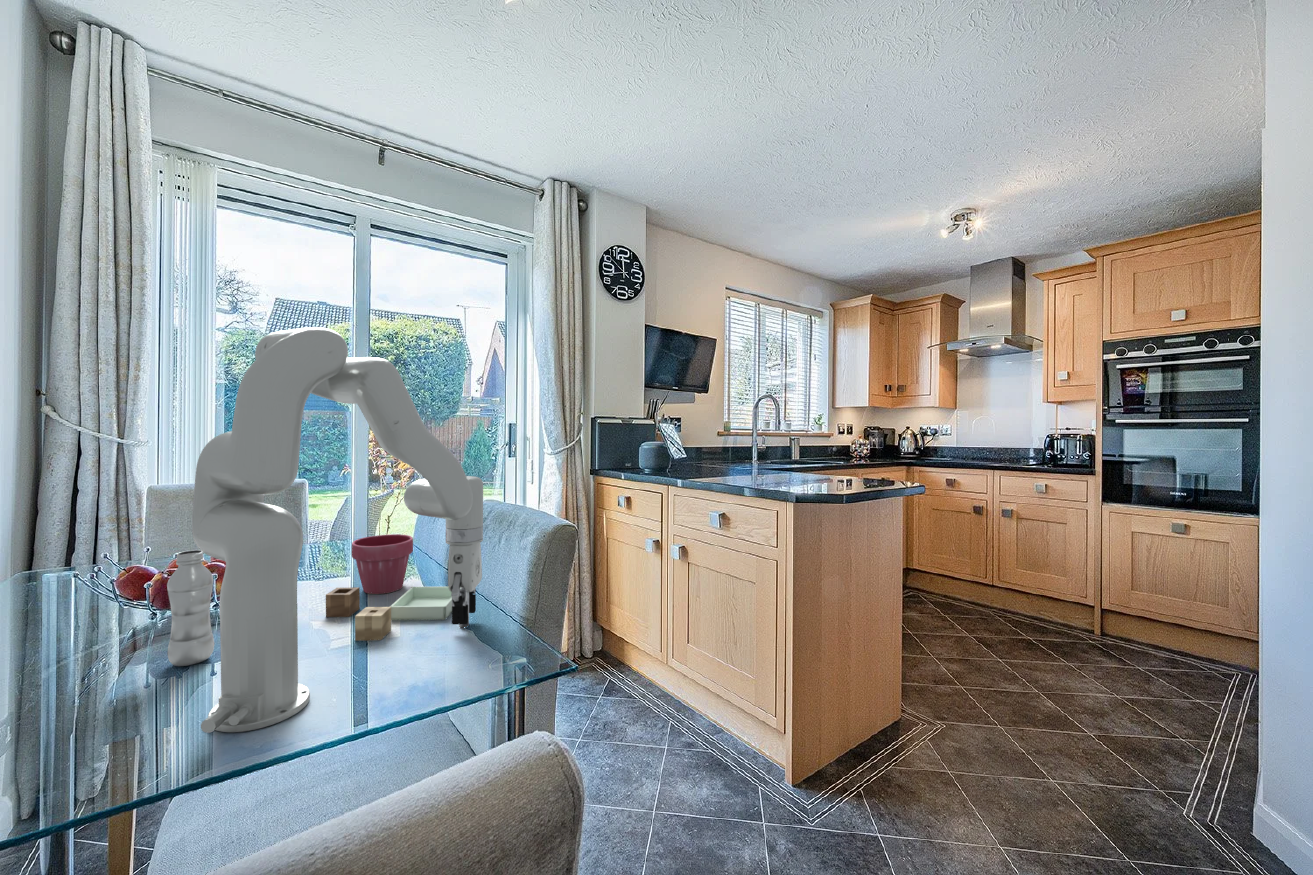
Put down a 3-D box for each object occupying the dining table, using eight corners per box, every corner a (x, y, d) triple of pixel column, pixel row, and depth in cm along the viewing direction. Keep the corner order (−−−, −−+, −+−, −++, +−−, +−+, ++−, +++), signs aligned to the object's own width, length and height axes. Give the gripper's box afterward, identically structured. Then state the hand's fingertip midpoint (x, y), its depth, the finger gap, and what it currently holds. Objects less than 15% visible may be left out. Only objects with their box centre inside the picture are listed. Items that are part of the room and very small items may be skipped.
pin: (467, 628, 117) (467, 591, 116) (457, 628, 116) (458, 591, 116) (470, 624, 119) (470, 588, 118) (460, 624, 118) (460, 588, 118)
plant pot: (363, 581, 147) (363, 533, 146) (418, 579, 149) (419, 532, 149) (342, 599, 133) (342, 547, 132) (404, 596, 135) (404, 545, 135)
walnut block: (349, 616, 122) (349, 594, 121) (325, 616, 121) (325, 594, 121) (359, 608, 127) (359, 587, 126) (337, 608, 126) (336, 587, 126)
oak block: (381, 640, 110) (381, 615, 110) (355, 640, 109) (355, 615, 109) (391, 630, 115) (391, 606, 115) (366, 630, 114) (366, 607, 114)
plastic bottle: (158, 672, 95) (156, 558, 94) (181, 655, 101) (179, 548, 100) (202, 668, 96) (201, 556, 96) (222, 652, 103) (220, 547, 102)
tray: (445, 619, 121) (445, 606, 121) (389, 620, 120) (389, 606, 120) (462, 598, 135) (462, 586, 135) (412, 598, 134) (412, 586, 134)
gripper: (472, 544, 108) (472, 634, 109) (491, 526, 126) (490, 603, 126) (433, 544, 108) (433, 634, 109) (457, 526, 125) (457, 604, 126)
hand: (464, 617), depth 117 cm, fingers open, 5 cm apart
